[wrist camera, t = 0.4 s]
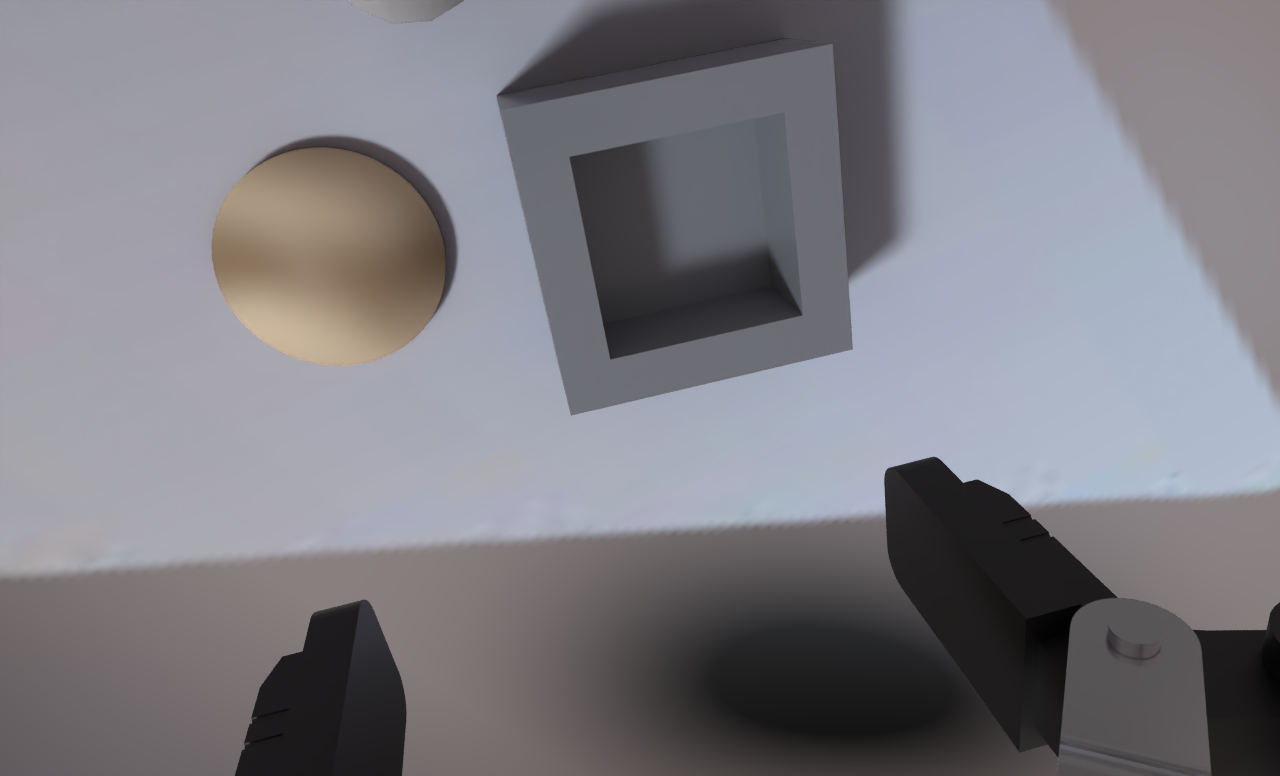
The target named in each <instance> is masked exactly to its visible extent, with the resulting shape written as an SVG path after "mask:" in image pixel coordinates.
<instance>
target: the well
mask: <svg viewBox="0 0 1280 776" xmlns="http://www.w3.org/2000/svg"><path fill="white" fill-rule="evenodd" d="M497 101H498V105H499V109H500V114H501V118H502V122H503V127H504V131H505V135H506V140H507V144H508V148H509V153H510V157H511V161H512V166H513V170H514V174H515V178H516V183H517V187H518V191H519V196H520V200H521V204H522V209H523V213H524V217H525V222H526V226H527V230H528V235H529V239H530V243H531V248H532V252H533V256H534V261H535V265H536V269H537V274H538V278H539V282H540V287H541V291H542V295H543V300H544V304H545V308H546V313H547V317H548V321H549V325H550V330H551V334H552V338H553V343H554V347H555V351H556V356H557V360H558V364H559V369H560V373H561V377H562V381H563V385H564V389H565V393H566V397H567V401H568V405H569V409H570V413H571V415H575V414H579V413H584V412H588V411H592V410H596V409H601V408H605V407H609V406H613V405H618V404H622V403H626V402H630V401H635V400H639V399H643V398H647V397H652V396H656V395H660V394H664V393H669V392H673V391H677V390H681V389H686V388H690V387H694V386H698V385H703V384H707V383H711V382H715V381H720V380H724V379H728V378H732V377H737V376H741V375H745V374H749V373H754V372H758V371H762V370H767V369H771V368H775V367H779V366H784V365H788V364H792V363H796V362H801V361H805V360H809V359H813V358H818V357H822V356H826V355H830V354H835V353H839V352H843V351H847V350H852V349H853V346H852V331H851V315H850V300H849V285H848V270H847V254H846V239H845V224H844V208H843V193H842V178H841V162H840V147H839V132H838V117H837V101H836V86H835V71H834V55H833V44H831V43H823V42H814V41H805V40H797V39H788V38H785V39H780V40H775V41H770V42H765V43H760V44H755V45H750V46H745V47H740V48H735V49H730V50H725V51H719V52H714V53H709V54H704V55H699V56H694V57H689V58H684V59H679V60H674V61H669V62H664V63H659V64H654V65H649V66H644V67H639V68H634V69H629V70H624V71H619V72H614V73H609V74H604V75H599V76H594V77H589V78H584V79H579V80H574V81H569V82H563V83H558V84H553V85H548V86H543V87H538V88H533V89H528V90H523V91H518V92H513V93H508V94H503V95H498V96H497Z"/></svg>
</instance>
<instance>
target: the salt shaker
mask: <svg viewBox="0 0 1280 776" xmlns="http://www.w3.org/2000/svg"><path fill="white" fill-rule="evenodd" d="M348 1H349V2H350V3H351V4H352V5H353V6H354V7H355V8H356V9H358V10H361V11H363V12H366V13H368V14H371V15H373V16H375V17H378V18H380V19H383V20H385V21H388V22H390V23H393V24H400V23H412V22H424V21H432V20H434V19H435V18H437V17H438V16H440V15H442V14H443V13H445V12H446V11H448V10H450V9H451V8H453V7H455V6H456V5H458V4H459V3H461V2H463V0H348Z"/></svg>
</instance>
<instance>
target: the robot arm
mask: <svg viewBox="0 0 1280 776" xmlns="http://www.w3.org/2000/svg"><path fill="white" fill-rule="evenodd" d="M884 485H885V507H886V529H887V547H888V554H889V559H890V563H891V566H892V569H893V572H894V574H895V577H896V579H897V580H898V583H899V584H900V586H901V588H902V589H903V590H904V592H905V593H906V595H907V596H908V597H909V599H910V600H911V602H912V603H913V604H914V606H915V607H916V609H917V610H918V611H919V613H920V614H921V616H922V617H923V618H924V620H925V621H926V623H927V624H928V625H929V627H930V628H931V630H932V631H933V632H934V634H935V635H936V637H937V638H938V639H939V640H940V642H941V643H942V645H943V646H944V648H945V649H946V651H947V652H948V653H949V655H950V656H951V658H952V659H953V660H954V662H955V663H956V665H957V666H958V667H959V669H960V670H961V672H962V673H963V674H964V676H965V677H966V678H967V680H968V681H969V683H970V684H971V686H972V687H973V688H974V690H975V691H976V692H977V694H978V695H979V697H980V698H981V700H982V701H983V702H984V704H985V705H986V707H987V708H988V709H989V711H990V712H991V714H992V715H993V716H994V718H995V719H996V721H997V722H998V723H999V725H1000V726H1001V728H1002V729H1003V730H1004V732H1005V733H1006V734H1007V736H1008V737H1009V739H1010V740H1011V741H1012V742H1013V744H1014V746H1015V747H1016V748H1017V750H1018V751H1019V752H1023V751H1026V750H1030V749H1033V748H1037V747H1040V746H1043V745H1047V744H1048V745H1049V746H1050V748H1051V749H1052V750H1053V752H1054V753H1055V754H1056V756H1057V757H1058V770H1057V776H1280V603H1278V604H1277V605H1276V606H1275V607H1274V608H1273V610H1272V611H1271V613H1270V617H1269V621H1268V626H1267V630H1228V631H1227V630H1224V631H1223V630H1222V631H1205V630H1192V629H1191V628H1190V626H1189V625H1187V624H1186V623H1185V622H1184V621H1183V620H1182V619H1180V618H1179V617H1177V616H1176V615H1175V614H1173V613H1171V612H1169V611H1168V610H1166V609H1164V608H1161V607H1159V606H1157V605H1154V604H1151V603H1148V602H1144V601H1139V600H1135V599H1126V598H1117V597H1116V596H1115V595H1114V594H1113V593H1112V592H1111V591H1110V590H1109V589H1108V588H1107V587H1106V586H1105V585H1104V584H1103V583H1101V581H1100V580H1098V579H1097V578H1096V577H1095V576H1094V575H1093V574H1092V573H1091V572H1090V571H1089V570H1088V569H1087V568H1086V567H1085V566H1084V565H1083V564H1082V563H1081V562H1080V561H1079V560H1077V559H1076V558H1075V557H1074V556H1073V555H1072V554H1071V553H1070V552H1069V551H1068V550H1067V549H1066V548H1065V547H1064V546H1063V545H1062V544H1061V543H1060V542H1059V541H1058V540H1056V539H1055V538H1054V537H1050V535H1049V532H1048V531H1047V530H1046V529H1045V528H1044V527H1043V526H1042V525H1041V524H1040V523H1039V522H1037V521H1036V520H1035V519H1034V520H1032V518H1031V515H1030V514H1029V513H1028V512H1027V511H1026V510H1025V509H1024V508H1023V507H1022V506H1021V505H1020V504H1019V503H1018V502H1017V501H1016V500H1014V499H1013V498H1012V497H1011V496H1010V495H1009V494H1007V493H1005V492H1003V491H1001V490H999V489H997V488H995V487H992V486H990V485H988V484H986V483H984V482H982V481H980V480H973V481H969V482H965V483H963V482H962V481H961V480H960V479H959V478H958V477H957V476H956V475H955V474H954V473H953V472H952V471H951V470H950V469H949V468H948V467H947V466H946V465H945V464H944V463H943V462H942V461H941V460H940V459H938V458H937V457H930V458H926V459H922V460H918V461H914V462H911V463H907V464H903V465H899V466H895V467H891V468H888V469H887V470H886V472H885V478H884ZM251 718H252V724H250V725H249V728H248V731H247V735H246V739H245V742H244V745H245V750H242V752H241V756H240V760H239V763H238V767H237V770H236V773H235V776H402V768H403V755H404V742H405V729H406V700H405V694H404V689H403V684H402V680H401V677H400V674H399V671H398V669H397V666H396V664H395V662H394V659H393V657H392V654H391V652H390V649H389V647H388V644H387V642H386V640H385V637H384V635H383V632H382V630H381V627H380V625H379V622H378V620H377V617H376V615H375V612H374V610H373V608H372V606H371V604H370V603H369V602H368V601H367V600H361V601H357V602H353V603H349V604H345V605H341V606H337V607H333V608H329V609H325V610H321V611H317V612H315V613H313V615H312V616H311V619H310V623H309V628H308V632H307V636H306V640H305V644H304V648H303V651H302V652H299V653H295V654H291V655H287V656H283V657H282V658H281V659H280V661H279V662H278V664H277V665H276V666H275V668H274V669H273V670H272V672H271V673H270V674H269V676H268V677H267V679H266V680H265V681H264V683H263V684H262V685H261V687H260V689H259V693H258V696H257V700H256V703H255V707H254V710H253V714H252V717H251Z"/></svg>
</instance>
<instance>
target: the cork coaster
mask: <svg viewBox="0 0 1280 776" xmlns="http://www.w3.org/2000/svg"><path fill="white" fill-rule="evenodd" d="M212 260H213V265H214V271H215V275H216V278H217V281H218V284H219V287H220V289H221V291H222V293H223V296H224V298H225V300H226V301H227V303H228V305H229V306H230V308H231V309H232V311H233V312H234V314H235V315H236V316H237V317H238V318H239V320H240V321H241V322H242V323H243V324H244V325H245V326H246V327H247V328H248V329H249V330H250V331H251V332H252V333H253V334H254V335H255V336H257V337H258V338H260V339H261V340H262V341H264V342H265V343H266V344H268V345H270V346H271V347H273V348H275V349H276V350H278V351H280V352H282V353H284V354H287V355H289V356H291V357H294V358H297V359H300V360H303V361H307V362H311V363H316V364H321V365H333V366H345V365H356V364H362V363H367V362H371V361H374V360H378V359H381V358H383V357H385V356H388V355H390V354H392V353H394V352H396V351H397V350H399V349H401V348H402V347H404V346H405V345H406V344H408V343H409V342H410V341H412V340H413V339H414V338H415V337H416V336H417V335H418V334H419V333H420V332H421V331H422V330H423V329H424V327H425V326H426V325H427V323H428V322H429V321H430V319H431V318H432V316H433V314H434V312H435V310H436V308H437V306H438V304H439V301H440V298H441V296H442V292H443V287H444V282H445V272H446V255H445V247H444V242H443V237H442V234H441V231H440V228H439V225H438V223H437V221H436V219H435V217H434V215H433V213H432V211H431V209H430V207H429V206H428V204H427V203H426V201H425V200H424V198H423V197H422V196H421V195H420V194H419V192H418V191H417V190H416V189H415V188H414V187H413V186H412V185H411V184H410V183H409V182H408V181H407V180H406V179H405V178H403V177H402V176H401V175H400V174H398V173H397V172H396V171H394V170H393V169H391V168H390V167H388V166H387V165H385V164H383V163H381V162H379V161H377V160H375V159H373V158H371V157H368V156H365V155H363V154H360V153H357V152H353V151H349V150H345V149H338V148H330V147H311V148H303V149H296V150H293V151H289V152H285V153H282V154H280V155H277V156H275V157H273V158H270V159H268V160H266V161H265V162H263V163H261V164H260V165H258V166H256V167H255V168H254V169H252V170H251V171H250V172H249V173H248V174H246V175H245V176H244V177H243V178H242V179H240V181H239V182H238V183H237V184H236V185H235V186H234V187H233V188H232V190H231V191H230V192H229V194H228V196H227V197H226V199H225V200H224V202H223V204H222V206H221V208H220V210H219V213H218V215H217V218H216V222H215V226H214V229H213V237H212Z"/></svg>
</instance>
